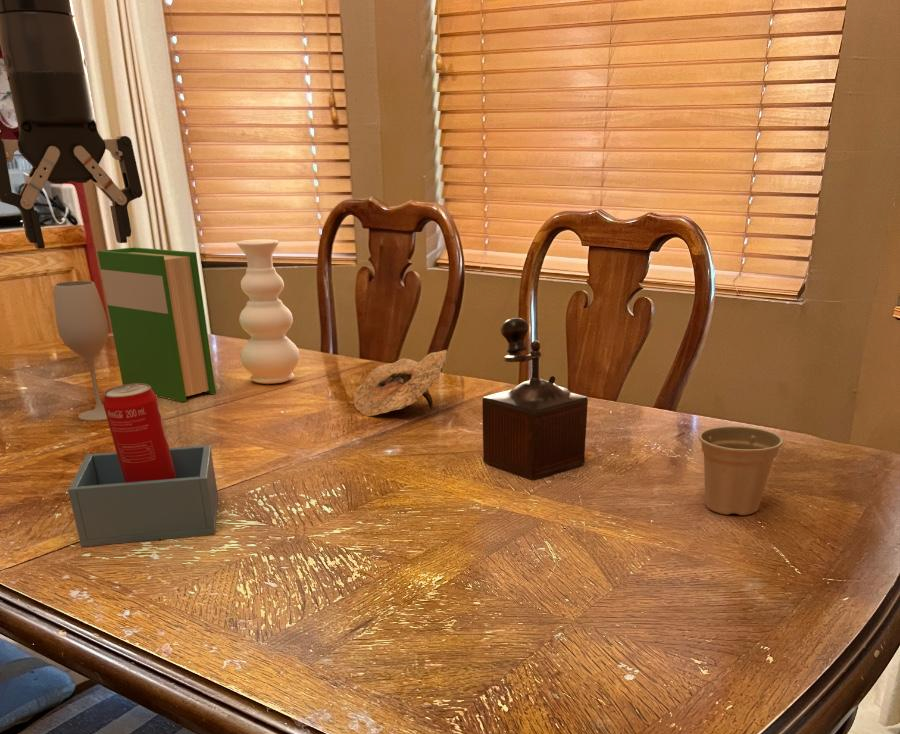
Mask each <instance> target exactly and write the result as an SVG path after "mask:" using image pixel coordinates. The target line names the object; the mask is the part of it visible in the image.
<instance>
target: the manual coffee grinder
mask: <svg viewBox="0 0 900 734" xmlns="http://www.w3.org/2000/svg"><path fill="white" fill-rule="evenodd" d="M528 332H529V324H528V322H527V320H524V319H523V318H521V317H513V318H509V319H507V320H505V321H504V322H503V323H502V324H501V326H500V333H501V335H502V336H503V337H504V338H505V340H506V342H507V343H508V346H507V350H506V352H507V353H508V354H506V355H504V362H506V363H525V362H529V361H531V377H530V379H529V380H526V381H522V382H520V383H519V384H517V385H516V386H514V387H513V388H511V389H508V390H505V391H500V392H496V393H493V394H489V395H486V396H482V403H481V404H482V405H481V406H482V454H483V457H482V460H483V462H484V463H486V464H487V465H489V466H491V467H493V468H496V469H500V470H502V471H504V472H507V473H509V474H512V475H516V476H519V477H522V478H526V479H529V480H531V481H533V480H537V479H541V478H545V477H548V476H551V475H555V474H558V473H561V472H564V471H568V470H570V469H574V468H577V467H580V466H583V465H584V464H585V463H586V458H585V453H586V440H587V439H586V438H587V423H588V405H589V404H588V403H589V398H588V396H587V395H581V394H578V393H574V392H571V391H570V390H569V389H568V388H566V387H563V386H559V385H558V384H556V383H555V382H556V376H554V375H551V376H550V377H549V379H548V380H546V379H543V378H540V368H539V367H540V366H539V365H540V358H541V357H542V352H541V351H540V349H541V343H540V341H539V340H534V341H531V342H530V344H529V345H530V350H531V351H530V352H529V353H530V354H527V355H521V354H522V353H523V352H524V351H527V349H528V347H527V346H526V344H525V338H526V335H527V333H528Z"/></svg>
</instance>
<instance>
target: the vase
mask: <svg viewBox="0 0 900 734" xmlns="http://www.w3.org/2000/svg"><path fill="white" fill-rule="evenodd" d="M236 245H237V246H238V248H239V249H240V250H241V251H242V253H244V255H245V257H246V264H247V267H246V268H245V275H244V276H243V277H242V278H241V281H240V288H241V290H242V292H243V293H244V294H245V295H246V296H247V297H248V298H249V300H247V302H246V305H245V307H244V308H243V309H242V310H241V312H240V314H239V318H238V319H239V324H240V327H241V328H242V329H243V331H244V332H245V333H247V334H248V335H249V336H250V338H248V341H247V342H246V343H245V344H244V345H243V347H242V349H241V352H240V361H241V364H242V366H243V367H244V369H245V370H246V371H247V372H248V373H250V374H251V376H250V380H251V381H252V382H254V383H257V384H265V385H269V384H270V385H271V384H273V385H274V384H281V383H287V382H289V381H291V380H292V379H294V377H295V375H294V373H293V372H294V370H295V369H296V368H297V367H298V365H299V362H300V351H299V349H298V347H297V344H295V343H294V342H293V341H292V340H291V339H289V336H286V334H287V332H288V331H289V330H290V329H291V327H292V325H293V322H294V318H293V313H292V312H291V310H290V309H289V308H288V307H287V306H286V305H285V304H284V303H283V301H282V299H279V296H280V294H281V293H282V292H283V290H284V288H285V282H284V280H283V279H284V278H283V277H281V275H279V274H278V273H277V270H276V267H274V263H273V254H274V252H275V251H276V248H277V247H278V245H279V240H277V239H271V238H255V239H254V238H253V239H244V240H239V241H237V242H236Z"/></svg>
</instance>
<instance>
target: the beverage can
mask: <svg viewBox="0 0 900 734" xmlns="http://www.w3.org/2000/svg"><path fill="white" fill-rule="evenodd" d="M103 405H104V409H105V412H106V416H107V420H106V421H107V423H108V427H109V430H110V434H111V437H112V441H113V444H114V448H115V452H117V455H118V459H119V463H120V466H121V470H122V473H123V477H124V481H125V483H128V482H140V481H152V480H165V479H177V478H176V474H175V469H174V465H173V461H172V457H171V453H170V449H169V448H170V446H169V442H168V437H167V434H166V429H165V425H164V421H163V417H162V413H161V408H160V404H159V402H158V397H157V396H156V395H155V394H154V392H153V391H152V389H151V386H150V385H149V384H144V383H135V384H126V385H123V384H121V385H117V386H113V387H111V388H108V389H106V390H105V391H104V392H103Z"/></svg>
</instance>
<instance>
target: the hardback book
mask: <svg viewBox="0 0 900 734" xmlns="http://www.w3.org/2000/svg"><path fill="white" fill-rule="evenodd" d="M96 252H97V258H98V263H99V267H100V272H101V278H102V283H103V289H104V294H105V300H106V304H107V309H108V315H109V321H110V325H111V330H112V335H113V341H114V346H115V351H116V356H117V362H118V366H119V373H120V377H121V383H122V385H126V384H135V383H144V384H149V385H150V386H151V389H152V391H153V392H154V394H155V395H157V396H162V397H165V398H170V399H174V400H177V401H176V402H178V401H181V402H180V403H184V402H183V401H186V402H187V397H190V396H194V395H198V394H203V393H202V392H206V393H210V394H209V395H211V394H213V393H216V394H217V392H216V385H215V378H214V370H213V364H212V356H211V348H210V341H209V334H208V327H207V322H206V321H207V320H206V313H205V308H204V307H205V306H204V299H203V291H202V285H201V279H200V272H199V265H198V258H197V252H196V251H185V250H174V249H160V248H148V247H137V246H135V247H134V246H133V247H132V246H131V247H124V248H114V249H103V250H97V251H96ZM206 393H205V394H206ZM213 395H214V394H213ZM157 396H156V397H157ZM165 398H164V399H165ZM170 399H169V400H170ZM174 400H173V401H174Z"/></svg>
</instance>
